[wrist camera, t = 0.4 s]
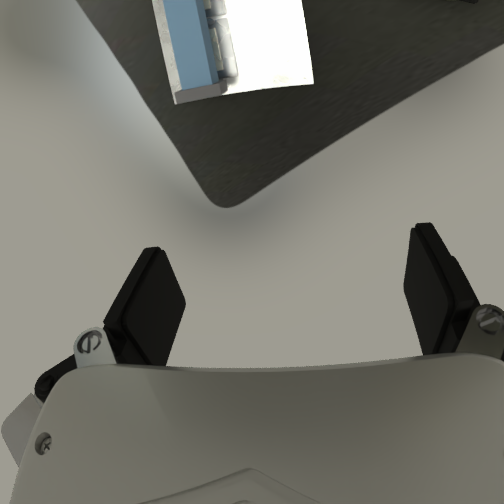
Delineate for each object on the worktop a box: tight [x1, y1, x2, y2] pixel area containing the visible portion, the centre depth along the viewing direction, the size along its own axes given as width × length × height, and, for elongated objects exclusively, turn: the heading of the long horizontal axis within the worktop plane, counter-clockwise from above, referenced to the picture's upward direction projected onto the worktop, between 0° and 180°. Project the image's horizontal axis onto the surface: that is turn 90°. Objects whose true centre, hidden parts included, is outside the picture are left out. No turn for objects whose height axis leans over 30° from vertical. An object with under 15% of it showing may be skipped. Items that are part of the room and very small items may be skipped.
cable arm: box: [163, 0, 228, 104], centre depth 23 cm, size 20×4×4 cm, turn 9°
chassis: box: [152, 0, 314, 104], centre depth 26 cm, size 20×16×5 cm
